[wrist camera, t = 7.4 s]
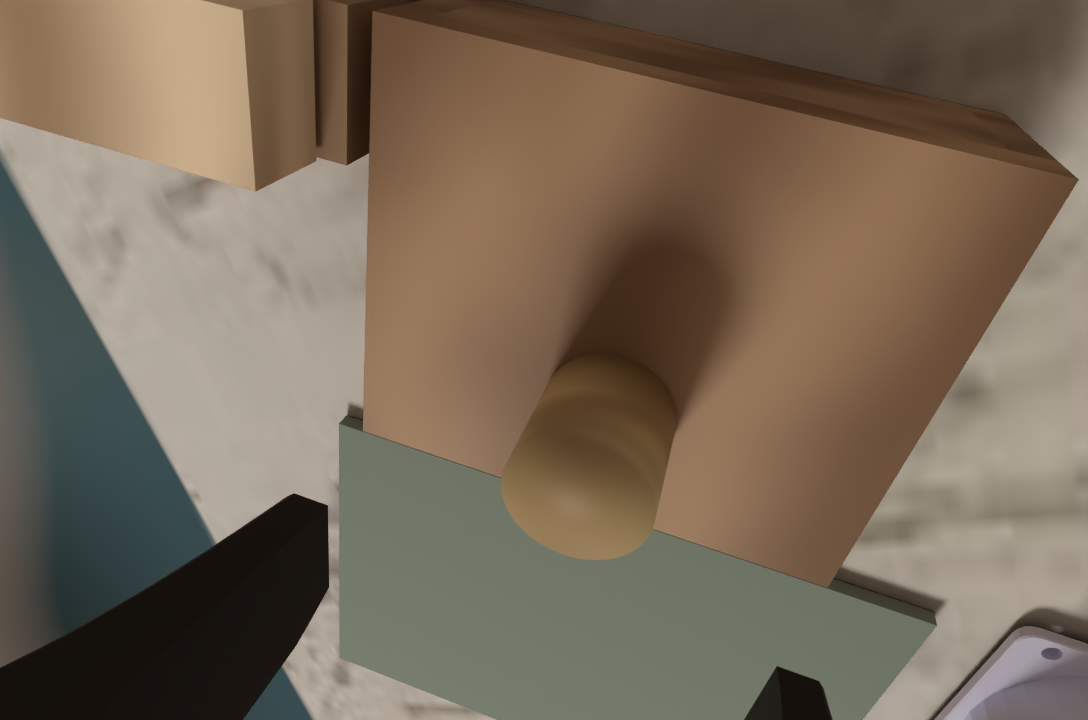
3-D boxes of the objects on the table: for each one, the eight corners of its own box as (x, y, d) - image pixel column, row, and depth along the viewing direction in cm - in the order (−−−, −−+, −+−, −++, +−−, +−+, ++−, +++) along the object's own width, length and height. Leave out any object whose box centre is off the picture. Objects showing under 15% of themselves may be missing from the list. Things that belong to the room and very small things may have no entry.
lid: (1058, 161, 12) (1162, 253, 8) (825, 556, 17) (834, 704, 14) (397, 5, 13) (272, 31, 10) (380, 409, 19) (297, 509, 16)
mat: (933, 612, 22) (936, 625, 21) (776, 816, 29) (776, 829, 29) (346, 415, 25) (339, 423, 24) (345, 648, 32) (339, 657, 32)
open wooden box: (1005, 114, 15) (1079, 179, 11) (820, 466, 20) (827, 588, 16) (238, -62, 17) (89, -57, 14) (263, 292, 23) (162, 363, 19)
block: (313, -1, 13) (242, 10, 11) (316, 160, 14) (255, 191, 13) (-52, -89, 14) (-164, -90, 12) (-10, 70, 16) (-103, 87, 14)
